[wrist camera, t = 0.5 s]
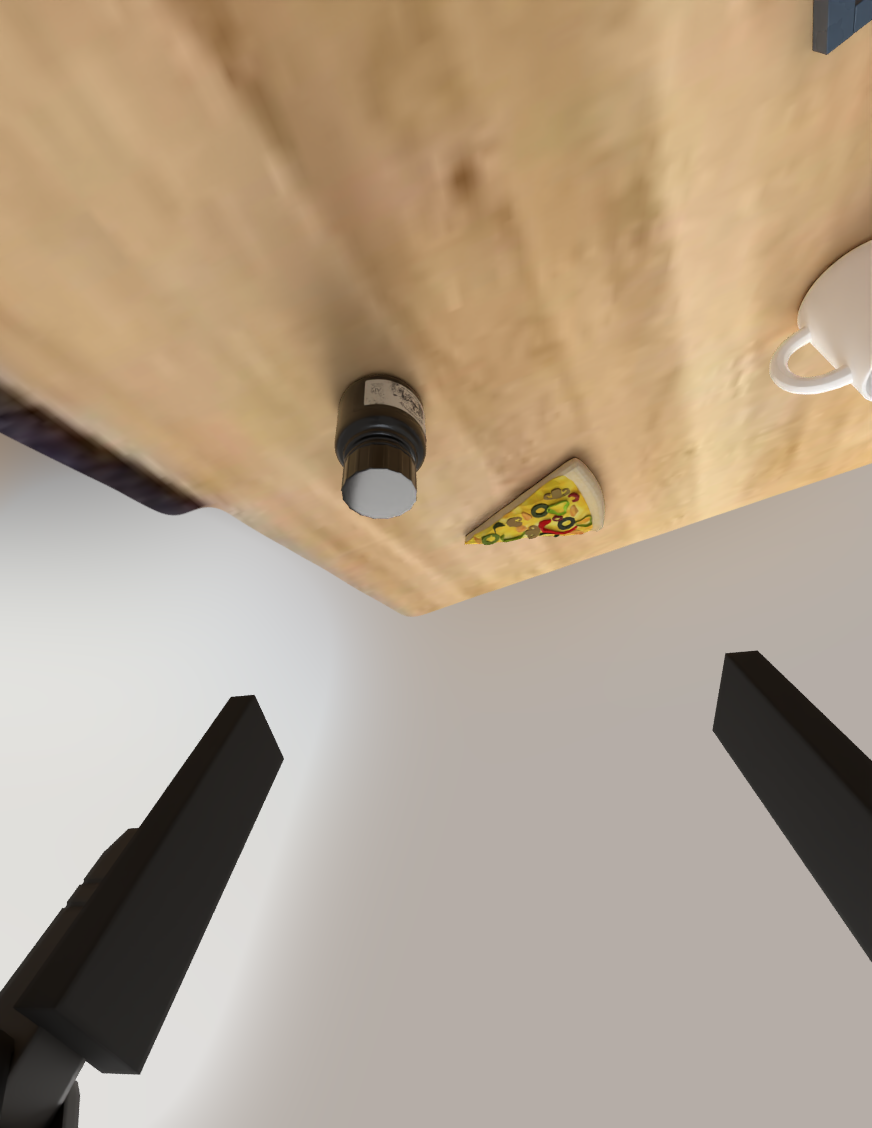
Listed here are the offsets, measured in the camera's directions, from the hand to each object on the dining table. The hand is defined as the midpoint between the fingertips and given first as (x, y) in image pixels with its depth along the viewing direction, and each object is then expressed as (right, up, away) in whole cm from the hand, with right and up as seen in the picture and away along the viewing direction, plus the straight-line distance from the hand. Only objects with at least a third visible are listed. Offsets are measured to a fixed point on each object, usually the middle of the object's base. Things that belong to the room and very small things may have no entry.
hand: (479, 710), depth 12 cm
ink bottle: (-7, +21, +32) cm, 39 cm away
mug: (+34, +28, +25) cm, 50 cm away
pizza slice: (+12, +12, +48) cm, 50 cm away
